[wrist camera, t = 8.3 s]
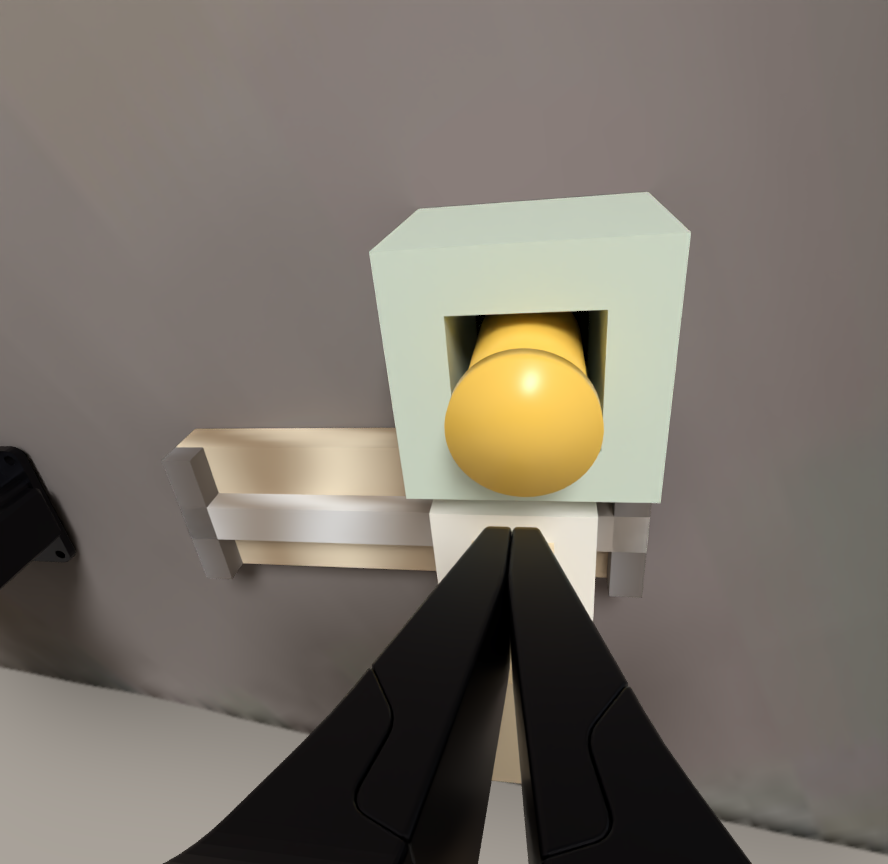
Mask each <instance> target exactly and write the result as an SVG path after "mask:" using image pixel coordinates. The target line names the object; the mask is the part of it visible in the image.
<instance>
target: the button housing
mask: <svg viewBox="0 0 888 864" xmlns="http://www.w3.org/2000/svg"><path fill="white" fill-rule="evenodd" d="M690 236H691V232H690V231H689V230H688V229H687V228H686V227H685V226H684V225H683V224H682V223H681V222H680V221H678V220H677V219H676V218H675V217H674V216H673V215H672V214H671V213H670V212H669V211H668V210H667V209H666V208H665V207H664V206H662V205H661V204H660V203H659V202H658V201H657V200H656V199H655V198H654V197H653V196H652V195H651V194H650V193H649V192H641V193H627V194H614V195H600V196H586V197H573V198H559V199H546V200H532V201H519V202H505V203H492V204H478V205H465V206H451V207H438V208H424V209H418V210H417V211H416V212H414V213H413V214H412V215H411V216H410V217H409V218H408V219H406V220H405V221H404V222H403V223H402V224H401V225H400V226H398V227H397V228H396V229H395V230H394V231H393V232H391V233H390V234H389V235H388V236H387V237H386V238H385V239H383V240H382V241H381V242H380V243H379V244H378V245H377V246H375V247H374V248H373V249H372V250H371V251H370V252H369V254H370V261H371V268H372V274H373V281H374V288H375V294H376V301H377V307H378V314H379V321H380V327H381V334H382V340H383V347H384V354H385V360H386V367H387V374H388V380H389V387H390V393H391V400H392V407H393V413H394V420H395V427H396V433H397V440H398V446H399V453H400V460H401V466H402V473H403V480H404V486H405V493H406V499H454V500H512V501H570V502H628V503H661V494H662V485H663V476H664V467H665V458H666V449H667V440H668V431H669V423H670V414H671V405H672V396H673V387H674V378H675V369H676V360H677V352H678V343H679V334H680V325H681V316H682V307H683V298H684V289H685V280H686V272H687V263H688V254H689V245H690ZM564 311H589V329H588V360H587V362H585V366H586V373H587V377H588V379H589V380H590V381H591V383H592V384H593V386H594V388H595V390H596V392H597V395H598V397H599V400H600V405H601V411H602V416H603V422H604V436H603V443H602V446H601V449H600V452H599V454H598V456H597V459H596V460H595V462H594V463H593V465H592V466H591V467H590V469H589V470H588V471H587V472H586V473H585V474H584V475H583V476H582V477H581V478H580V479H579V480H577V481H576V482H574V483H573V484H571V485H570V486H568V487H566V488H564V489H562V490H559V491H557V492H554V493H550V494H547V495H542V496H535V497H517V496H510V495H504V494H501V493H497V492H494V491H492V490H490V489H487V488H485V487H483V486H481V485H480V484H478V483H477V482H475V481H474V480H472V479H471V478H470V477H469V476H467V475H466V474H465V473H464V472H463V471H462V470H461V468H460V467H459V466H458V465H457V463H456V462H455V460H454V459H453V457H452V455H451V453H450V451H449V449H448V446H447V443H446V438H445V429H444V423H445V415H446V411H447V408H448V405H449V401H450V398H451V395H452V393H453V390H454V388H455V386H456V384H457V383H458V381H459V380H460V378H461V377H462V376H463V375H464V373H465V372H466V371H467V370H468V369H469V365H470V362H471V358H472V355H473V351H474V348H475V344H476V341H477V329H476V315H489V314H514V313H539V312H564Z"/></svg>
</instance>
